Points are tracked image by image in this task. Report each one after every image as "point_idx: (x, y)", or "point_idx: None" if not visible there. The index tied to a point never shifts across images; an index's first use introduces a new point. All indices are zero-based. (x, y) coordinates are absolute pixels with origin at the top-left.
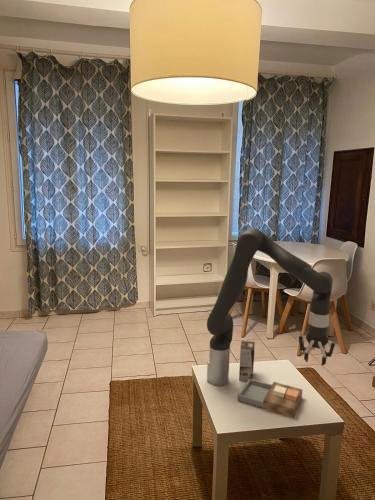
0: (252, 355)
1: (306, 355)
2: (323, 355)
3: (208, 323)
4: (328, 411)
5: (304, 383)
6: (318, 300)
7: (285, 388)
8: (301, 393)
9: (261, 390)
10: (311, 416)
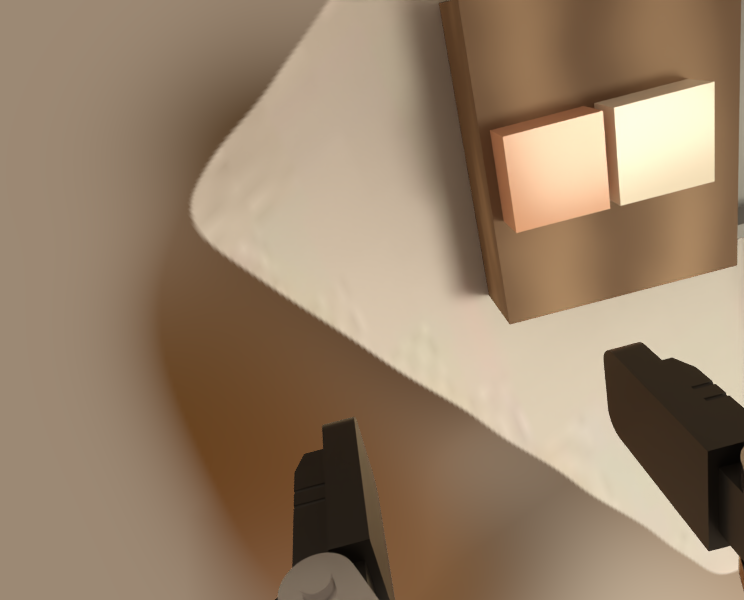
0: None
1: (705, 411)
2: (347, 583)
3: None
4: (277, 276)
5: (534, 452)
6: None
7: (629, 193)
8: (499, 288)
9: None
10: (341, 131)
